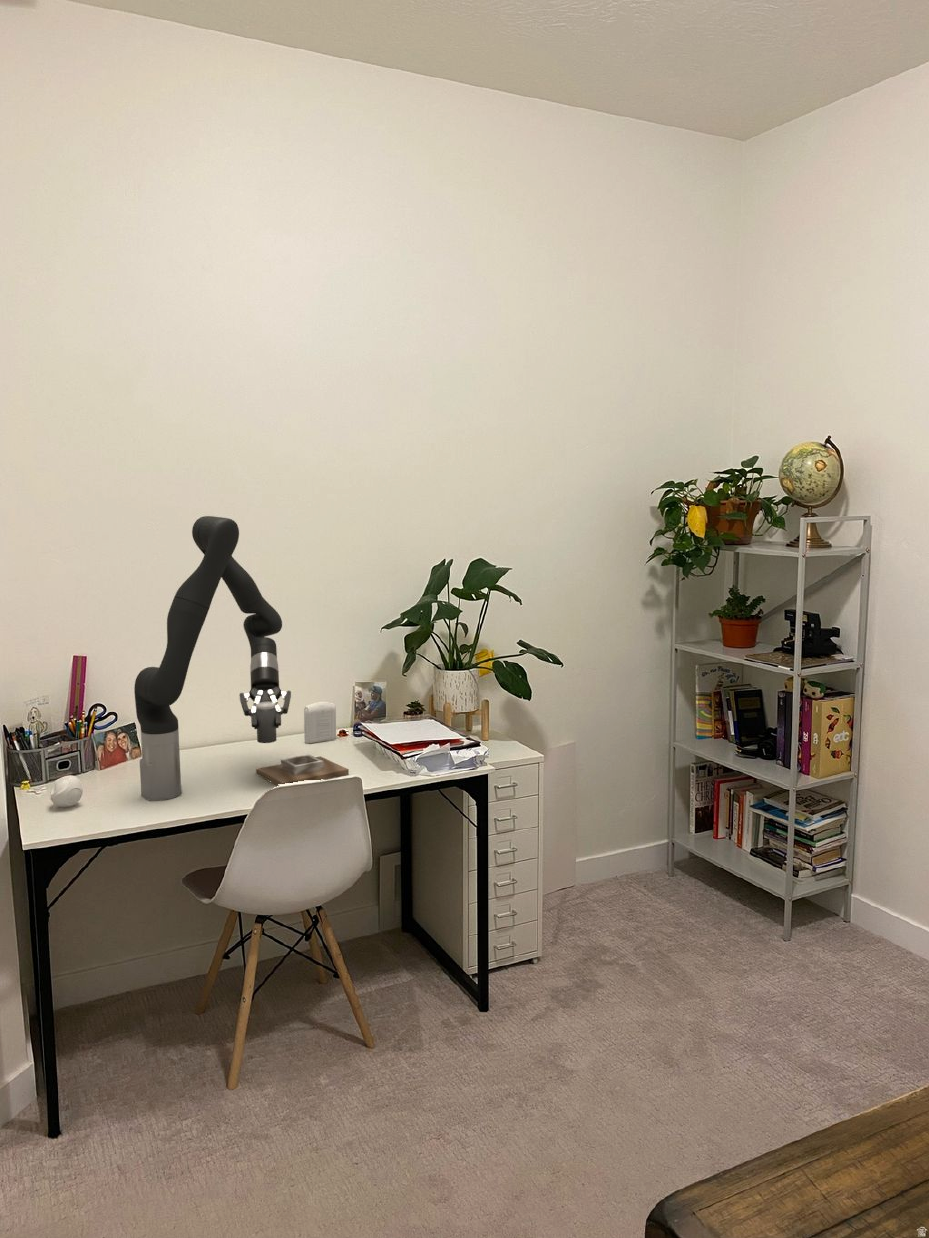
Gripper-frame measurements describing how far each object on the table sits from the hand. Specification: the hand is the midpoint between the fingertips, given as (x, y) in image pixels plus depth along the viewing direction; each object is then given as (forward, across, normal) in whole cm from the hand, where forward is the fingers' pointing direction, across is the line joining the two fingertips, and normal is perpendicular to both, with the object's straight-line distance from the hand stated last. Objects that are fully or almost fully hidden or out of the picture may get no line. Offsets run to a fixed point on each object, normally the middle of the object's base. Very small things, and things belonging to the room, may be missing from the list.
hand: (266, 726), depth 251 cm
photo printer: (-19, +16, +43) cm, 50 cm away
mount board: (+5, +9, +19) cm, 21 cm away
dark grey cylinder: (+2, 0, +4) cm, 5 cm away
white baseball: (+15, -49, +9) cm, 52 cm away
